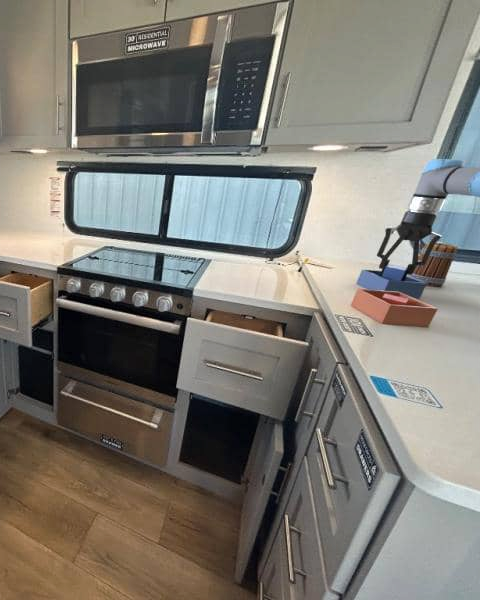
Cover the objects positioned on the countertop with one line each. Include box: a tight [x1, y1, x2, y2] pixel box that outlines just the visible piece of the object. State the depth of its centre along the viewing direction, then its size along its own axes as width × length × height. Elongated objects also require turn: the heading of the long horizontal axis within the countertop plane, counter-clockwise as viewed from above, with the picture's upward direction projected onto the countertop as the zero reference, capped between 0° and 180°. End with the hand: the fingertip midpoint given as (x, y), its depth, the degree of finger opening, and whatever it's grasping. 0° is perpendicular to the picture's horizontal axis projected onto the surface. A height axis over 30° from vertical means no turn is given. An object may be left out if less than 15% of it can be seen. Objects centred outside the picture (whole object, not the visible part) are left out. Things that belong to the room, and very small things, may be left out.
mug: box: [407, 241, 458, 288], centre depth 127 cm, size 16×11×15 cm
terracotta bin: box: [350, 288, 439, 328], centre depth 93 cm, size 12×12×6 cm
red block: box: [381, 294, 408, 305], centre depth 93 cm, size 5×5×5 cm
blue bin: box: [356, 269, 427, 300], centre depth 114 cm, size 12×12×6 cm
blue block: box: [382, 263, 407, 281], centre depth 113 cm, size 5×5×5 cm
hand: (390, 280), depth 114 cm, fingers closed on blue block, 5 cm apart
